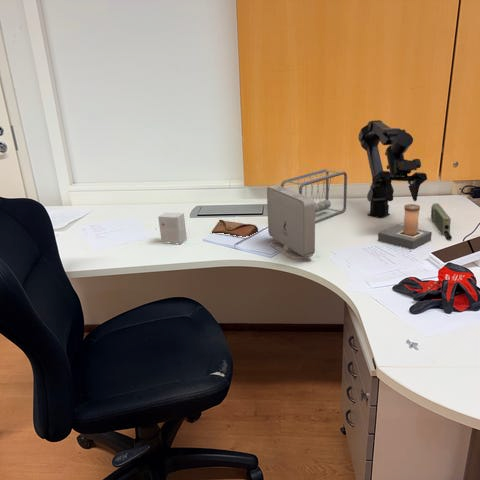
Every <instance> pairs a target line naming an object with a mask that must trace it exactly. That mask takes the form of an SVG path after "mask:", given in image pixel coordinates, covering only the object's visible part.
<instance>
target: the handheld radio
mask: <svg viewBox="0 0 480 480" xmlns="http://www.w3.org/2000/svg"><path fill="white" fill-rule="evenodd" d="M430 210H431V212H430V213H431V214H430V219H431V220H432V222H433V223H434V225H435V226H436V227H437V229H438V231H439V232H440V233H441V235H442V236H446V238H447V239H448V240H452V238H453V237H452V235H451V224H452V223H451V220H452V219H451V217H450V216H449V215H448V213H447V212H446V211H445V209H444V208H443V207H442V206H441V205H440V203H438V202H437V203H433V204H432V205H431V209H430Z"/></svg>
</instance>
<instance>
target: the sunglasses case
mask: <svg viewBox="0 0 480 480" xmlns="http://www.w3.org/2000/svg"><path fill="white" fill-rule="evenodd" d="M211 232H212V233H211V234H213V233H224V234H230V235H236V236H242V237H246V236H250V235H252V234H254V233H256V232H258V233H259V228H258V226H257V225H255V224H252V223H242V222H238V221H237V222H235V221H229V220H224V219H219V220H218V222H217V223H216V225H215V226H214V228H213V229H212V230H211ZM256 234H257V233H256ZM254 235H255V234H254Z"/></svg>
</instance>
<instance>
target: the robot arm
mask: <svg viewBox="0 0 480 480" xmlns="http://www.w3.org/2000/svg"><path fill="white" fill-rule="evenodd" d="M367 122H368V123H367V124H366V125H365V126H363V127H361V129H360V131H359V133H358V137H357V138H358V142H360V146H361V148H362V149H363V150H365V152H366V155H367V158H368V159H367V160H368V164H369V169H370V174H371V178H372V179H371V180H372V182H371V184H370V187H369V191H368V193H367V197H366V198H367V201H368V202H369V203H370V206H369V208H370V209H369V213H367V216H370V217H375V218H380V219H382V218H384V217H387V216H390V213H389V212H390V211H389V209H390V205H389V202H392V201H394V191H395V190H394V187H393V185H392V181H393V182H395V181H397V182H407V184H409V185H408V189H409V191H410V192H409V193H410V195H411V199H412V201H414V202H417V200H418V195H419V190H420V187H421V185H422V184H423V183H424V182H425V181H427V180H428V175H427V173H426V172H418V171H417V170H418V169H420V168H421V167H422V161H421V159H420V158H414V159H411V160H408V159H405V155H404V154H405V153H406V152H407V151H408V150H409V148H410V147H411V146H412V144H413V142H414V137H413V136H412V135H411V133H408V132H406V131H407V130H406V129H401V128H400V127H399V128H398V127H390V126H389V125H387V124H385V123H384V122H383V121H382V120H378V119H377V120H370V121H367ZM380 143H381V145H383V146H387V148H386V149H385V152H384V155H385V156H386V159H387V166H386V169H387V170H389V171H387V170H384V168H383V163H382V159H381V156H380V155H381V154H380V151H379V144H380ZM412 171H417V172H414V173H413V174H411V173H412ZM409 174H411V175H409Z"/></svg>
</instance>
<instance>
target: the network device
mask: <svg viewBox="0 0 480 480" xmlns="http://www.w3.org/2000/svg"><path fill="white" fill-rule="evenodd" d="M266 202H267V203H266V204H267V223H268V224H267V227H268V229H267V230H268V235H269V236H270V237H271V238H273V239H275V240H272V241H270V242H269V246H270V247H271V248H274V249H275V250H276V251H278V252H279V253H281V254H282V255H284V257H285V256H286V257H287V258H288V259H290V260H304V259H308V258H311V257H313V256H314V254H315V253H316V223H315V220H316V213H315V203H316V201H315V200H313V197H309V196H307V195H305V194H302V195H301V194H299V192H296V191H293V190H290V189H288V188H286V187H285V186H284V187H281V185H271V186H268V187H267V188H266ZM279 243H281V244H282V245H283V247H279V246H277V245H276V244H279ZM288 252H295V253H296V254H298V256H293V255H291V254H290V253H288Z"/></svg>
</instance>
